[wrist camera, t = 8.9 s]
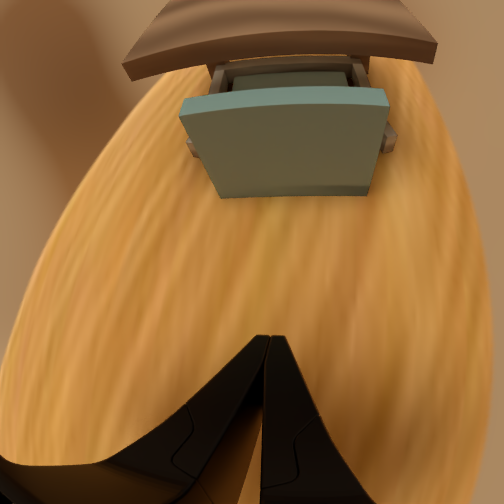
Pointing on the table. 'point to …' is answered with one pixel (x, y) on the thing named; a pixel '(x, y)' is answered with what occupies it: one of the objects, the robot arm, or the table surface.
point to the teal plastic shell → (288, 135)
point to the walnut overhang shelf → (279, 40)
